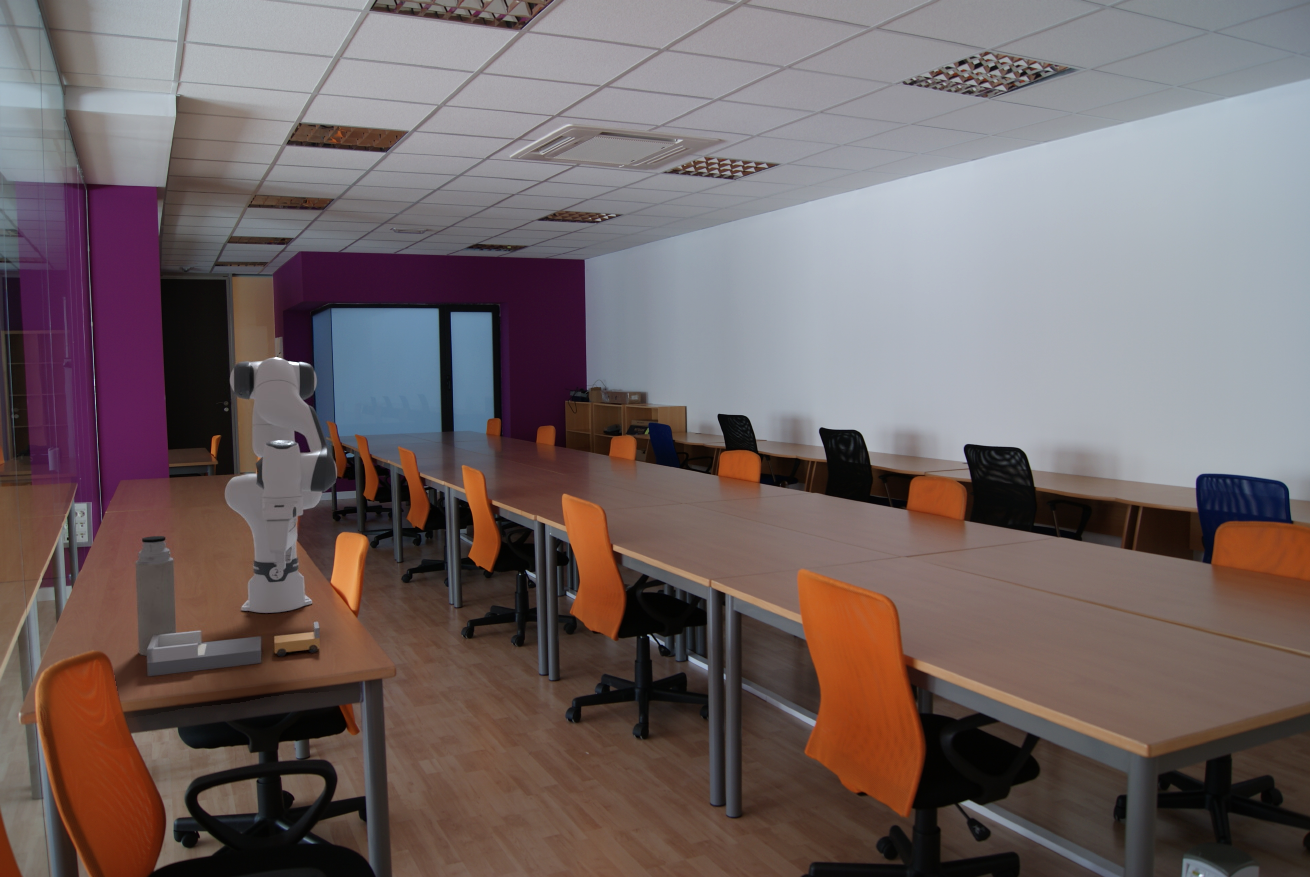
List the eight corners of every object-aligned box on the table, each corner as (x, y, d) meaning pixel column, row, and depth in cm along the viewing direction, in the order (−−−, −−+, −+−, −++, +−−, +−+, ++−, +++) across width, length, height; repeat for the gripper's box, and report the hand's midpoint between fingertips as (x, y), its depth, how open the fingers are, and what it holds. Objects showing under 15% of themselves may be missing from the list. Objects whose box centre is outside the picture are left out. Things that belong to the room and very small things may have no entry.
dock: (154, 660, 204) (153, 635, 203) (261, 648, 213) (260, 624, 213) (147, 676, 193) (146, 649, 192) (261, 662, 202) (260, 637, 202)
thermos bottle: (150, 645, 215) (146, 534, 213) (182, 645, 215) (179, 534, 213) (132, 655, 207) (127, 540, 205) (165, 655, 207) (161, 540, 205)
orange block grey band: (274, 650, 212) (274, 626, 211) (318, 645, 216) (317, 621, 215) (274, 657, 206) (274, 632, 206) (319, 652, 210) (319, 627, 210)
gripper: (275, 504, 216) (277, 559, 216) (261, 513, 196) (262, 574, 196) (303, 503, 217) (304, 558, 218) (291, 512, 198) (292, 572, 198)
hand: (284, 566), depth 207 cm, fingers open, 8 cm apart
